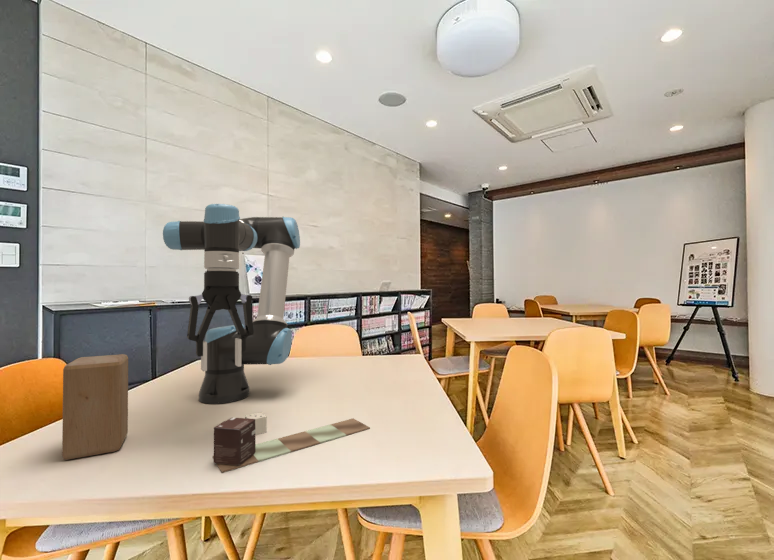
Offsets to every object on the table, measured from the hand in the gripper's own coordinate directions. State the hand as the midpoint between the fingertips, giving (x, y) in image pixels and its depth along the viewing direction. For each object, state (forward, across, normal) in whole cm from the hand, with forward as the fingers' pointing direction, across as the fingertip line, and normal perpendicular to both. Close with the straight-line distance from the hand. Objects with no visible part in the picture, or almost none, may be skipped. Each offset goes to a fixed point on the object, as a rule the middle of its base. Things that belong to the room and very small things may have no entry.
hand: (221, 367), depth 85 cm
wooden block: (+17, -23, +13) cm, 32 cm away
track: (+17, +14, -12) cm, 25 cm away
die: (+17, +8, 0) cm, 19 cm away
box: (+17, 0, -12) cm, 21 cm away
